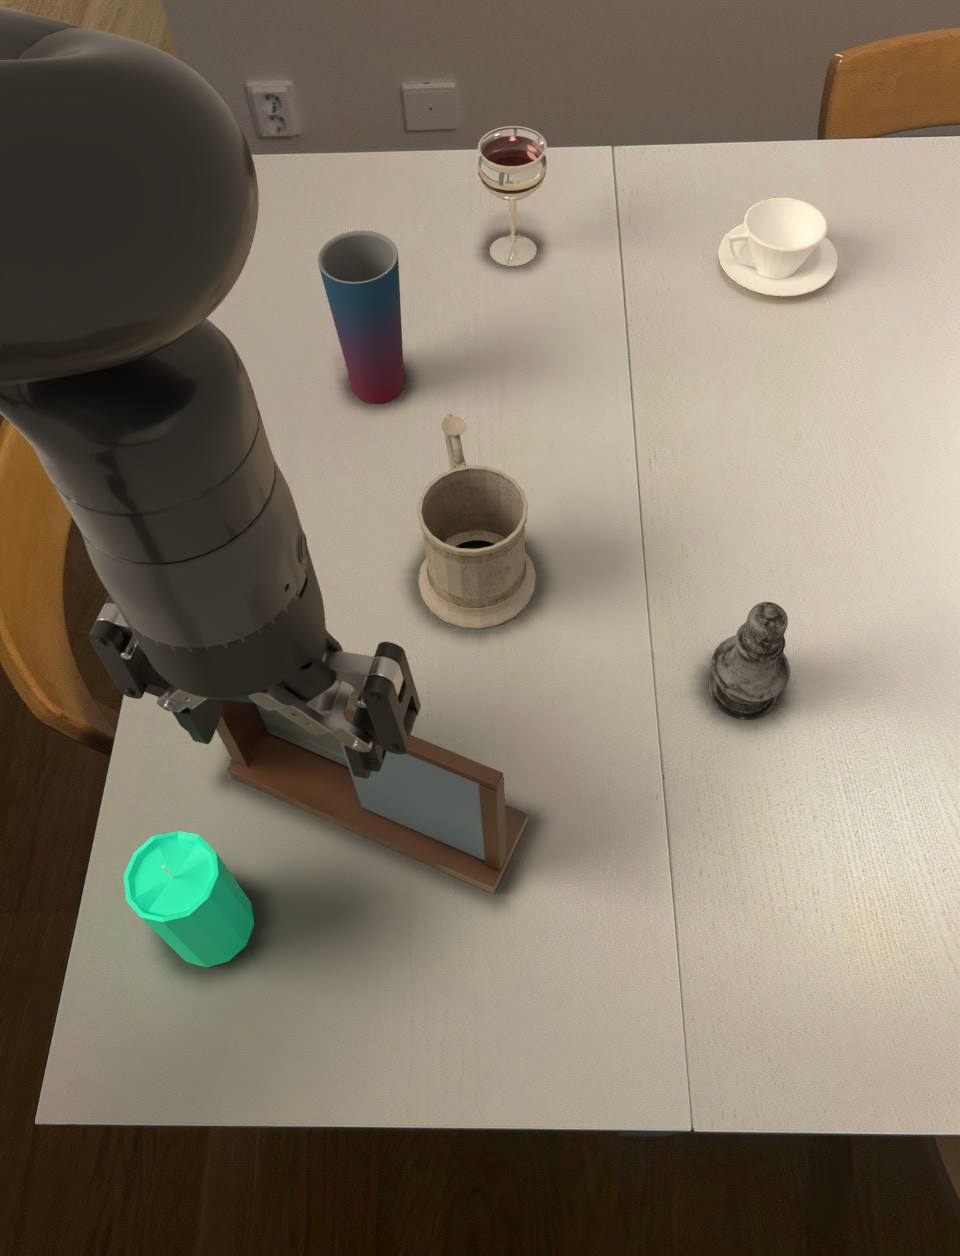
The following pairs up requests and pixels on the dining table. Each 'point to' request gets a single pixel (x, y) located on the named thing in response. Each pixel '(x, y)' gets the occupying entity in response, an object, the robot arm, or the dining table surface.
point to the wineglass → (512, 182)
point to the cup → (366, 311)
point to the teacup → (780, 249)
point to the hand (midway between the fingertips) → (288, 744)
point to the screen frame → (336, 787)
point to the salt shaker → (751, 664)
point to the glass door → (440, 797)
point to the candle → (189, 898)
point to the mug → (466, 511)
